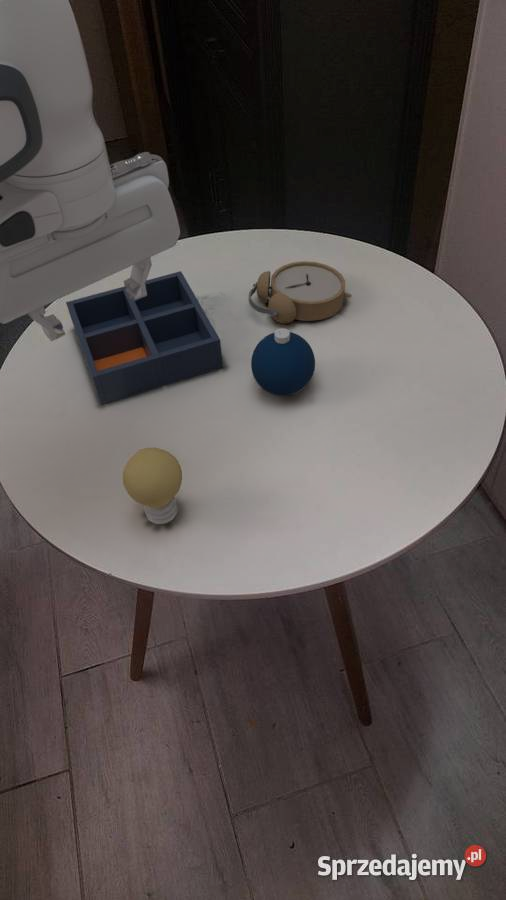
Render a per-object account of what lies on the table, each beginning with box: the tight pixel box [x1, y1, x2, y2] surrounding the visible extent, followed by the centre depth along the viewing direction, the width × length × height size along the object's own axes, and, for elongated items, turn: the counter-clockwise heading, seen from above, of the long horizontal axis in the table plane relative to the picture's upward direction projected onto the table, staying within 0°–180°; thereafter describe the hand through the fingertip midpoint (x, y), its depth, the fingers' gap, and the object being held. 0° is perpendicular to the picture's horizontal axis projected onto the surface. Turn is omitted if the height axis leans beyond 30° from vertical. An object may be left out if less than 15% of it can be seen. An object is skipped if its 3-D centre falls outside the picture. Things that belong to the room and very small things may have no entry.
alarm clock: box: [248, 260, 353, 325], centre depth 103 cm, size 11×5×15 cm
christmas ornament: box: [250, 327, 316, 397], centre depth 89 cm, size 8×8×10 cm
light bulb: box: [122, 447, 183, 525], centre depth 76 cm, size 6×6×10 cm
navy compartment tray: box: [65, 270, 224, 405], centre depth 98 cm, size 18×18×5 cm
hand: (97, 315), depth 69 cm, fingers open, 8 cm apart
